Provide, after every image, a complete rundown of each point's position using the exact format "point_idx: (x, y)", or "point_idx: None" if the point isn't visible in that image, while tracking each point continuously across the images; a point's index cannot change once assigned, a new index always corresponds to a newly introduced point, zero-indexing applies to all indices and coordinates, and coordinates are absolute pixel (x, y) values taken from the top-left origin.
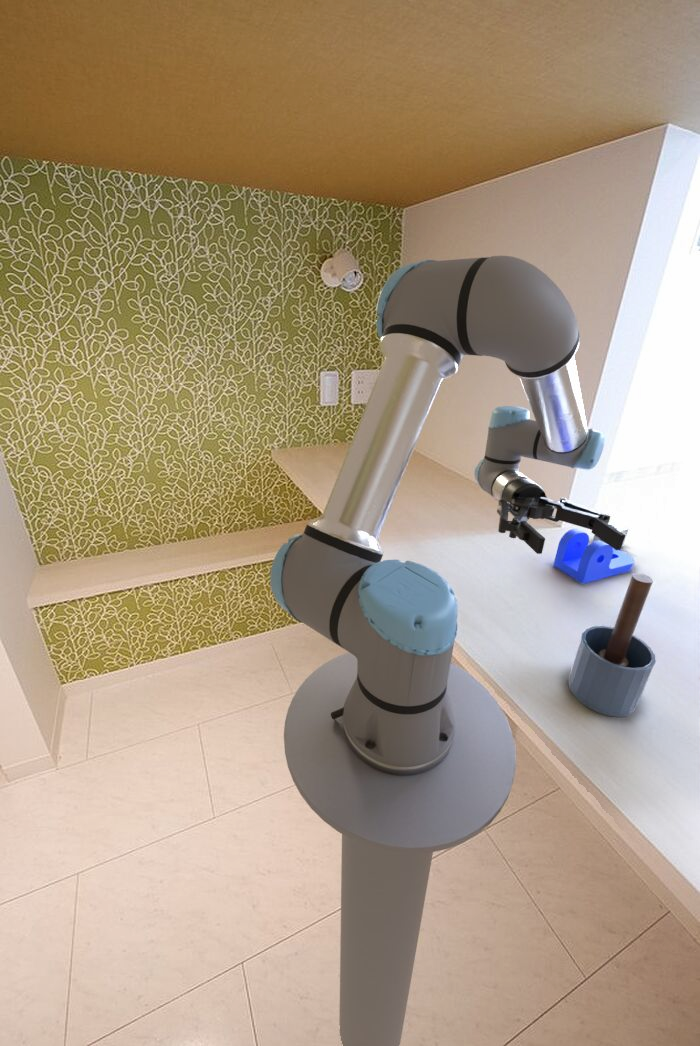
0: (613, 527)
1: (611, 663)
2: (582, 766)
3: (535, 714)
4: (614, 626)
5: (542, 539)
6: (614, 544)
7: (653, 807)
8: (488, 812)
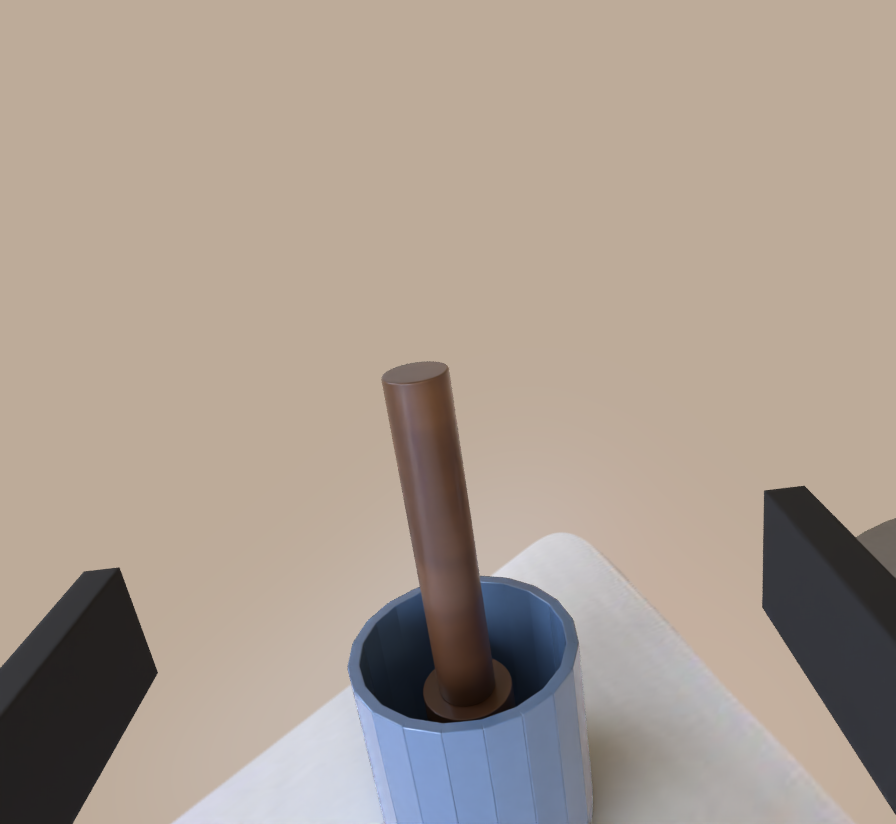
0: (2, 666)
1: (531, 590)
2: (654, 622)
3: (739, 727)
4: (473, 586)
5: (787, 493)
6: (135, 670)
7: (553, 576)
8: (870, 536)
